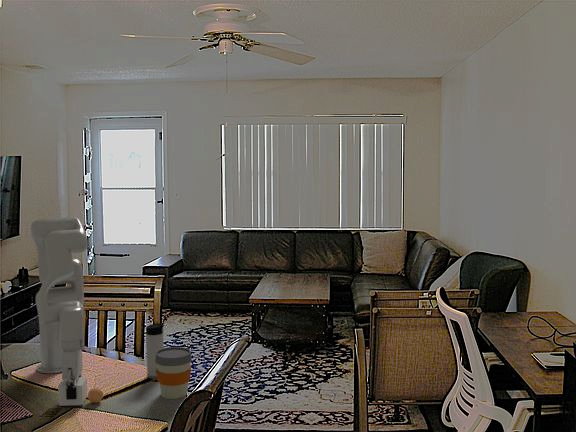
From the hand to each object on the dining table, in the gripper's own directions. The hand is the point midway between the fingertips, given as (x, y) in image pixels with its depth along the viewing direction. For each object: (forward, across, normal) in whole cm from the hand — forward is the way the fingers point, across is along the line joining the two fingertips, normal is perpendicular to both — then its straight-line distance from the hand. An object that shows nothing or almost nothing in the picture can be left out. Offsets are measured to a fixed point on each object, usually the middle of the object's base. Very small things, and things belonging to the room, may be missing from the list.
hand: (74, 393), depth 225 cm
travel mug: (+3, -23, +25) cm, 34 cm away
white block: (+2, 0, 0) cm, 2 cm away
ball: (+1, 0, +7) cm, 7 cm away
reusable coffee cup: (+3, -5, +33) cm, 33 cm away
